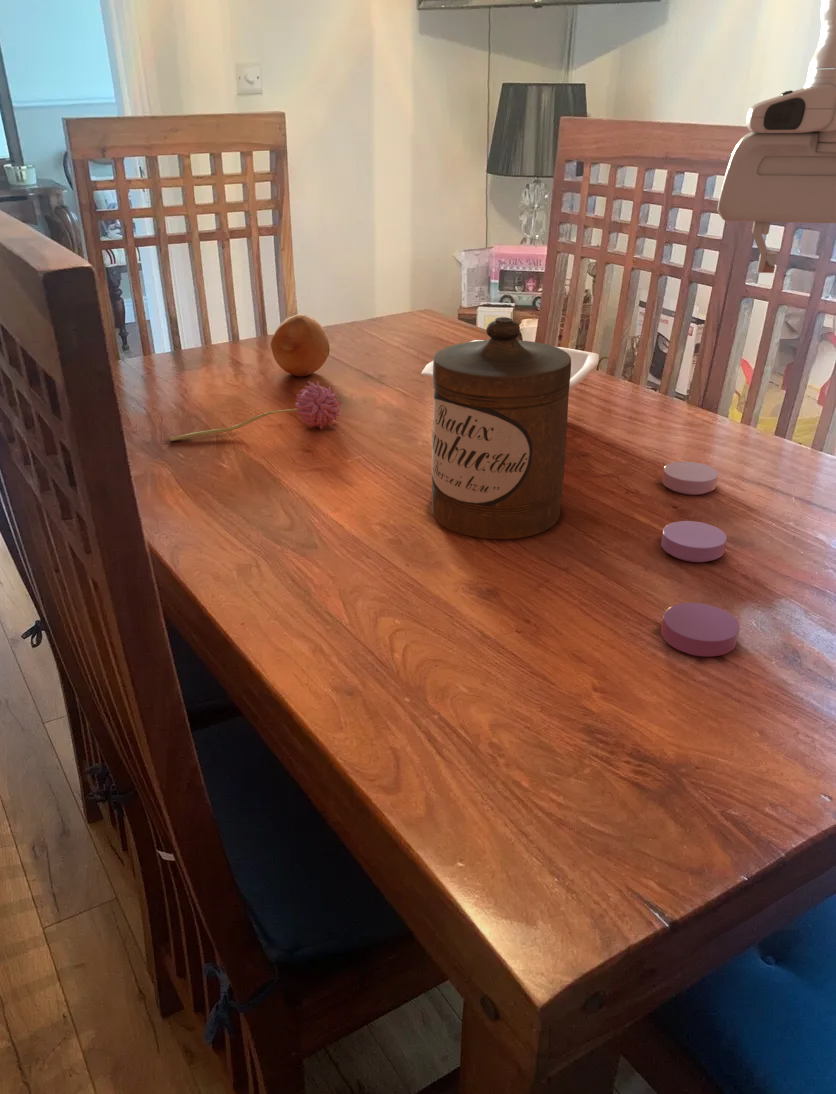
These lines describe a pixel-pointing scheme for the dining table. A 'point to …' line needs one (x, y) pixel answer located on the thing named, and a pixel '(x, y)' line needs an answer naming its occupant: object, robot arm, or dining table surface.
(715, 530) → the lavender disc
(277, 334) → the onion
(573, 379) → the bowl
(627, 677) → the dining table surface
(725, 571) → the dining table surface
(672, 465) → the pale pink disc
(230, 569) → the dining table surface
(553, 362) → the wooden container
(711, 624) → the mauve disc
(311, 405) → the artificial flower
